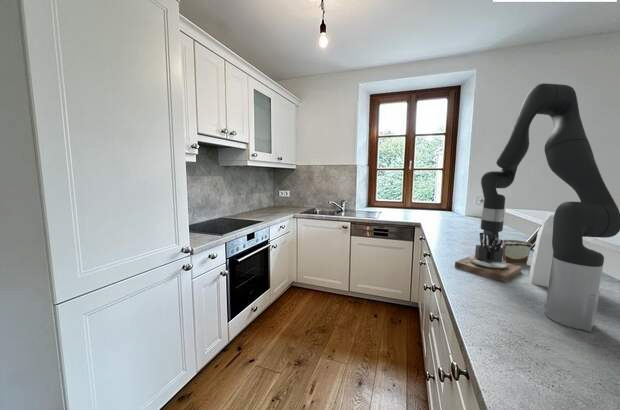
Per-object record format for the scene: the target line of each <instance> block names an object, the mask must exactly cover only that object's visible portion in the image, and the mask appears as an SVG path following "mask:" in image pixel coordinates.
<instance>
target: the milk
mask: <svg viewBox="0 0 620 410" xmlns="http://www.w3.org/2000/svg"><path fill="white" fill-rule="evenodd" d="M553 221H554V214H552V213H551V214H549V215H548V216H547V217H546V219H545V220H544V221H543V223H542V224H541V226H540V228H539V229H538V231H537V235H536V240H535V245H534V250H533V255H532V260H531V263H530V264H531V265H530V268H529V269H530V270H529V275H528V276H529V279H530V282H531V283H530V284H531V285H532V284H533V285H538V286H542V287H545V288H546V287H547V288H548V286H549V279H550V272H551V265H552V258H553V247H552V236H553Z"/></svg>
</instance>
